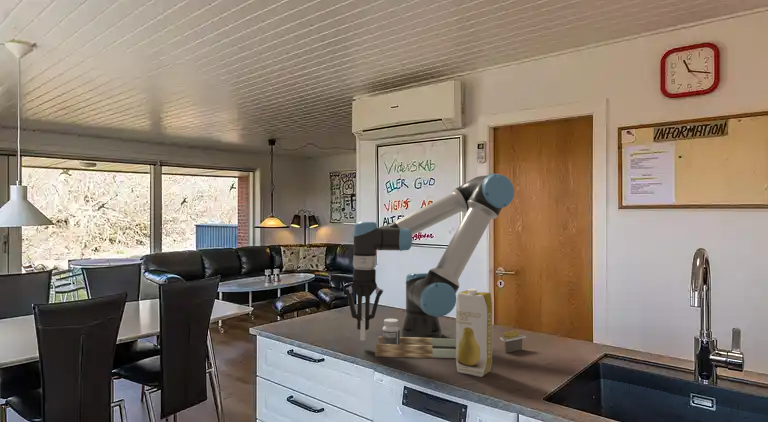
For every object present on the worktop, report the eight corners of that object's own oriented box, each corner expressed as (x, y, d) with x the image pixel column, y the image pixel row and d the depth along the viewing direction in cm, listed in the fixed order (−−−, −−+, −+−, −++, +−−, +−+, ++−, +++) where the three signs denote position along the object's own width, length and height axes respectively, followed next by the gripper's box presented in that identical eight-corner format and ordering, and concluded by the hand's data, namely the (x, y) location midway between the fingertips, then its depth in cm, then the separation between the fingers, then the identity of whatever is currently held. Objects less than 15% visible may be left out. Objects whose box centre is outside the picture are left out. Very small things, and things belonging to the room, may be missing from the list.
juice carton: (452, 372, 141) (453, 288, 141) (464, 365, 148) (465, 285, 148) (483, 379, 136) (484, 291, 136) (494, 371, 142) (495, 288, 142)
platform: (479, 351, 164) (479, 331, 164) (516, 343, 174) (516, 325, 174) (506, 360, 154) (507, 339, 154) (544, 352, 164) (544, 332, 164)
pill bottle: (389, 346, 168) (389, 317, 168) (403, 349, 164) (403, 319, 164) (378, 350, 163) (379, 320, 163) (392, 353, 160) (392, 322, 160)
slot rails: (431, 344, 170) (431, 336, 170) (432, 357, 155) (432, 348, 155) (379, 343, 172) (379, 334, 172) (375, 356, 156) (375, 346, 156)
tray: (473, 346, 168) (473, 339, 168) (477, 358, 155) (477, 350, 155) (431, 345, 170) (431, 337, 170) (432, 357, 156) (432, 349, 156)
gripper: (343, 268, 161) (341, 341, 161) (383, 270, 160) (381, 343, 160) (346, 266, 169) (345, 335, 168) (384, 267, 168) (383, 337, 167)
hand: (362, 339), depth 164 cm, fingers closed
